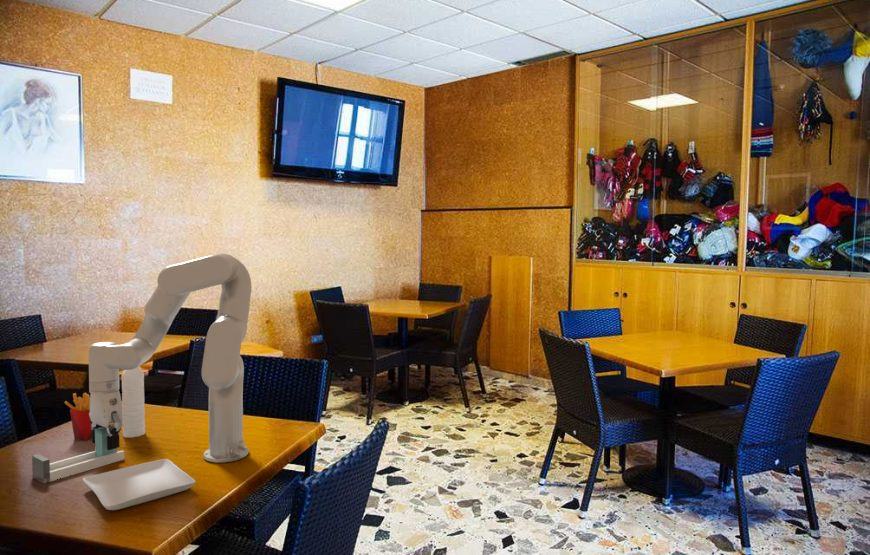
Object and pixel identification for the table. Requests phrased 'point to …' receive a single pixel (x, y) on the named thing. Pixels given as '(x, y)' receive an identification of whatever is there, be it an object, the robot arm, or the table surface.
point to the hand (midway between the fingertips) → (105, 445)
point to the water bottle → (133, 403)
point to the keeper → (102, 442)
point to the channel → (70, 465)
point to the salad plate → (138, 484)
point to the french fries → (81, 417)
